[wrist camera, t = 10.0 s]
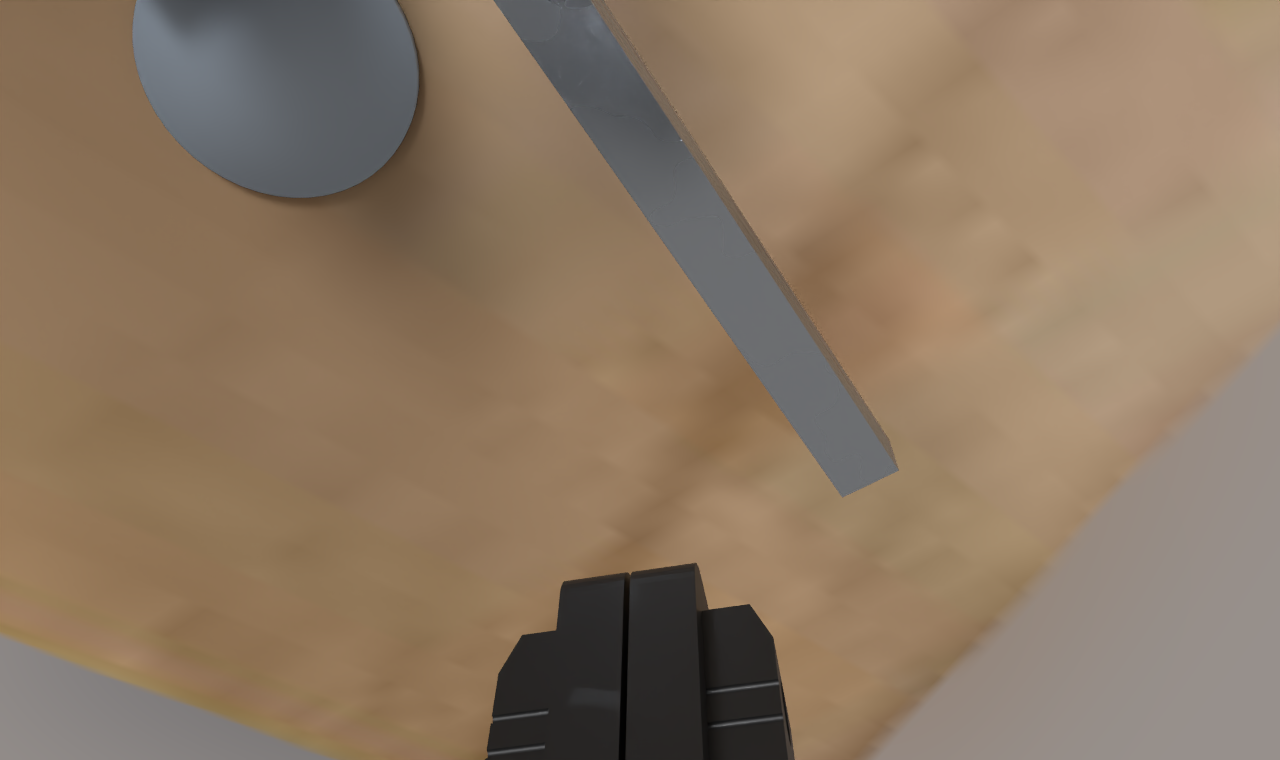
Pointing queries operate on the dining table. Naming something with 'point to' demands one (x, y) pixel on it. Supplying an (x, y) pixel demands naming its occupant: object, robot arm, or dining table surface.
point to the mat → (281, 87)
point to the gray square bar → (703, 230)
